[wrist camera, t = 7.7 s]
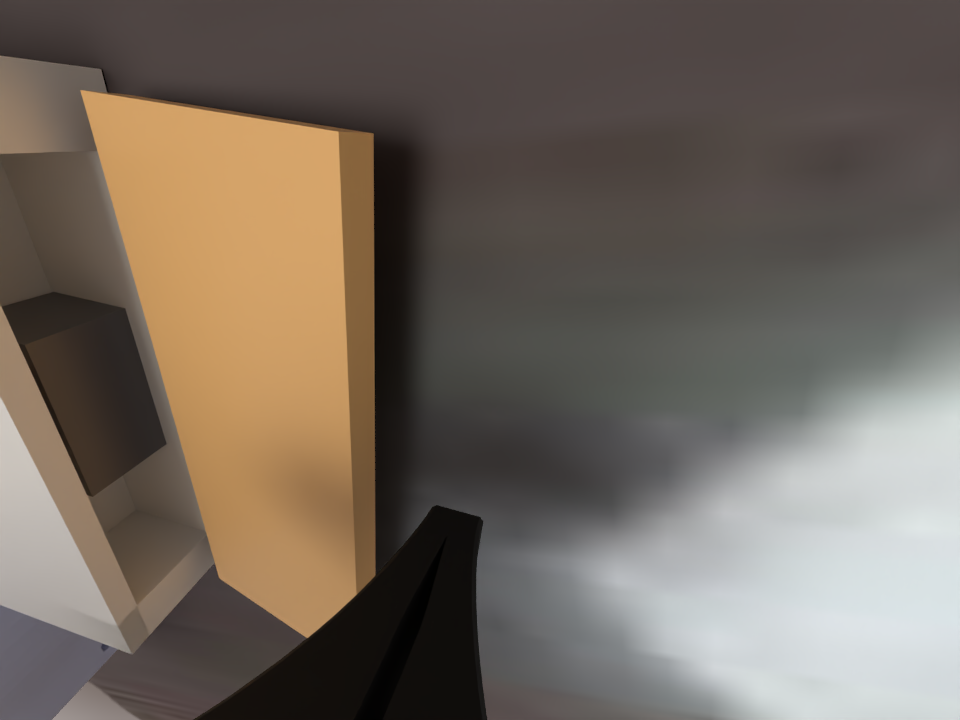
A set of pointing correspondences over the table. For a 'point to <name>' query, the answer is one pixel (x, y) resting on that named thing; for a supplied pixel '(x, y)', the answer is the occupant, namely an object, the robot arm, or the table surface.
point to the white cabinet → (80, 387)
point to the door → (259, 333)
